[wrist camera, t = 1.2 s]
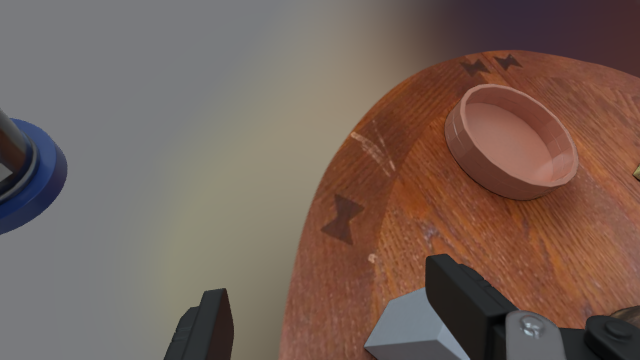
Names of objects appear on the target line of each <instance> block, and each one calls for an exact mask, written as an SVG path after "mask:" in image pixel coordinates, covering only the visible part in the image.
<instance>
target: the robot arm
mask: <svg viewBox="0 0 640 360" xmlns="http://www.w3.org/2000/svg"><path fill="white" fill-rule="evenodd" d="M39 162H40V154H39V150H38V147H37V145H36V144H35V142H34V141H33V140H32V139H31V138H30V137H29V136H28V135H27V134H26V133H25V132H24V131H22V130H21V129H19V127H18V126H17V125H16V124H15V123H14V122H13V121H12V120H11V119H10V118H9V117H8V116H7V115H6V114H5V113H4V112H3V111H2V110H1V109H0V205H1V204H3V203H5V202H7V201H8V200H10V199H11V198H13V197H14V196H16V195H17V194H18V193H20V192H21V191H22V190H23V189H24V188H25V187H26V186H27V185H28V184H29V183H30V181H31V180H32V179H33V177H34V176H35V174H36V172H37V170H38V167H39ZM425 291H426V296H427V299H428V302H429V304H430V305H431V307H432V308H433V309H434V311H435V312H436V313H437V315H438V316H439V318H440V319H441V320H442V322H443V323H444V324H445V326H446V327H447V328H448V330H449V331H450V333H451V334H452V335H453V337H454V338H455V339H456V341H457V342H458V343H459V345H460V346H461V348H462V349H463V350H464V352H465V353H466V354H467V356H468V357H469V358H470V360H640V329H639V328H637V327H636V326H634V325H632V324H630V323H628V322H626V321H623V320H621V319H617V318H614V317H610V316H603V315H596V316H591V317H589V318H588V319H587V321H586V326H585V329H572V328H559V327H557V326H556V325H555V324H554V323H553V322H552V321H550V320H549V319H547V318H546V317H544V316H542V315H540V314H537V313H534V312H530V311H524V310H519V309H518V308H517V307H516V306H514V305H513V304H512V303H511V302H510V301H509V300H508V299H507V298H505V297H504V296H503V295H502V294H501V293H500V292H499V291H498V290H496V289H495V288H494V287H492V286H491V284H490V283H489V282H487V281H486V280H484V278H483V277H482V276H481V275H480V274H478V273H477V272H476V271H475V270H473V269H471V268H469V267H467V266H465V265H463V264H457V263H456V262H455V261H454V260H453V259H452V258H451V257H450V256H449V255H448V254H439V255H433V256H428V257H427V258H426V274H425ZM233 339H234V326H233V319H232V314H231V309H230V304H229V299H228V294H227V290H226V288H222V289H216V290H209V291H205V292H204V294H203V297H202V299H201V302H200V305H199V306H197V307H191V308H190V309H189V310H188V311H187V312H186V313H185V314H184V315H183V316H182V317H181V319H180V321H179V323H178V326H177V328H176V333H174V335H173V338H172V342H171V343H170V345H169V347H168V350H167V352H166V355H165V357H164V360H230V358H231V351H232V346H233Z"/></svg>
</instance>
